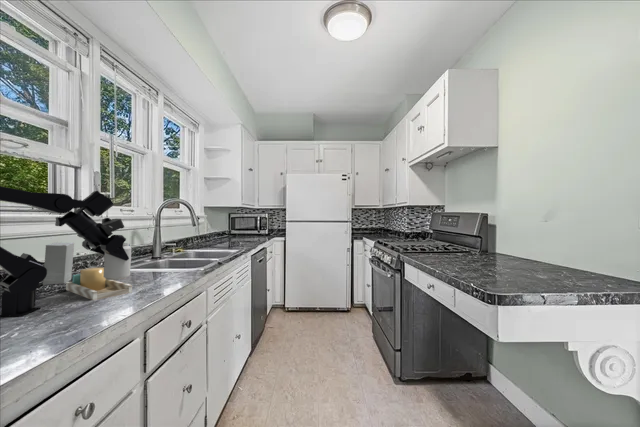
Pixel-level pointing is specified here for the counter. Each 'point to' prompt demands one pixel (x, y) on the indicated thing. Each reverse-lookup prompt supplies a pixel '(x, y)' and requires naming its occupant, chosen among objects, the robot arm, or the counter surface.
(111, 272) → the can
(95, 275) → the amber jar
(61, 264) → the skincare box
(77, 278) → the pusher plate
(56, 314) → the counter surface
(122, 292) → the tray
